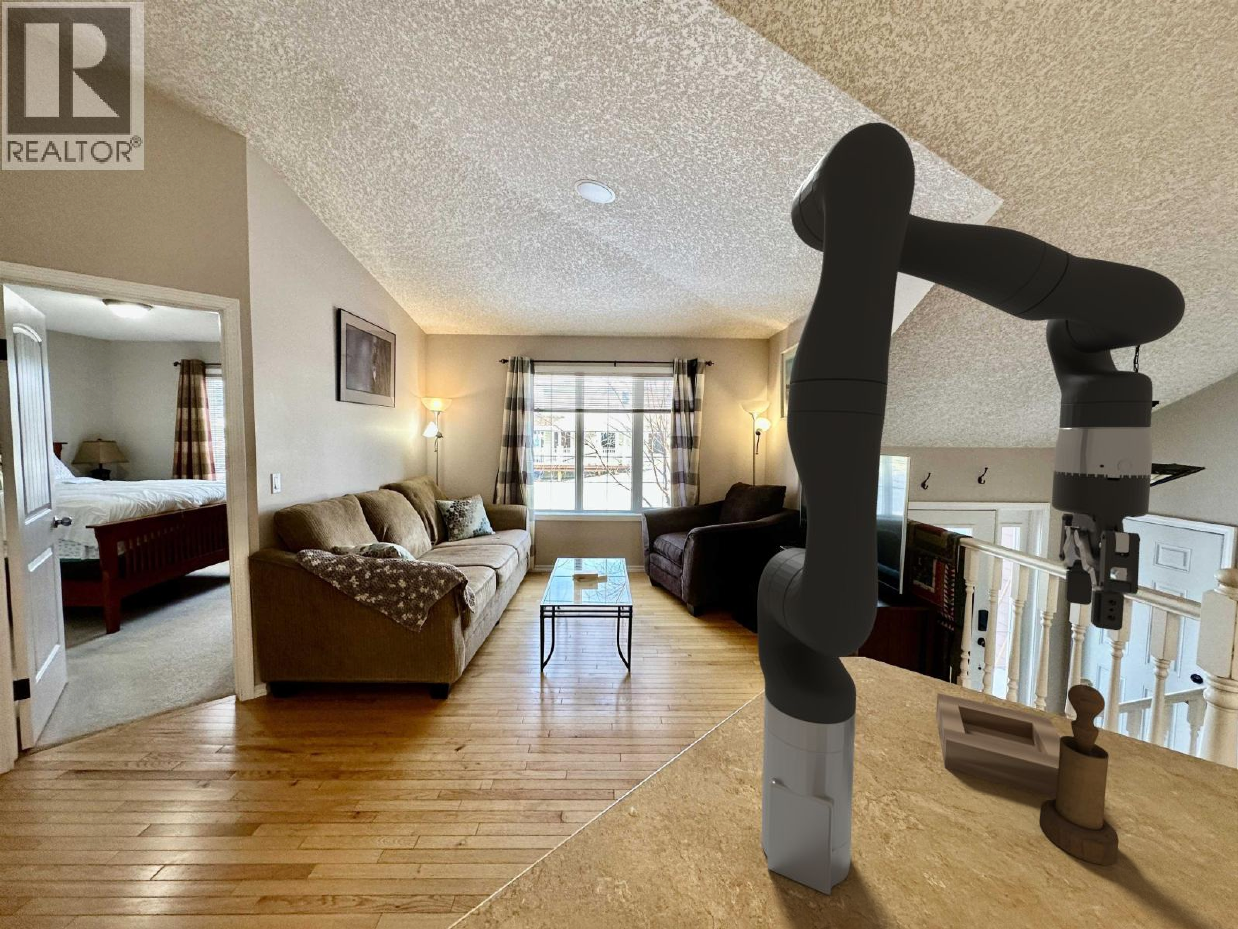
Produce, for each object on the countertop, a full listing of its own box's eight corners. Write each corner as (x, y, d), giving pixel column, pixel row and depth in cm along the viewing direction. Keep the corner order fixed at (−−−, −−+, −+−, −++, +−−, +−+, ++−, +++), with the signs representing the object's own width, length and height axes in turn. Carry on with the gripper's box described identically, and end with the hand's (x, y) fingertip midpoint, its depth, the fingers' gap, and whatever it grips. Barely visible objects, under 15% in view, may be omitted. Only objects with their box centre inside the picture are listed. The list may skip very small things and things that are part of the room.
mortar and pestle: (1135, 871, 51) (1147, 707, 50) (1064, 859, 52) (1074, 699, 51) (1088, 822, 58) (1097, 676, 57) (1026, 813, 59) (1034, 670, 58)
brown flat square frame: (1079, 809, 60) (1081, 774, 60) (944, 770, 67) (946, 739, 67) (1047, 746, 72) (1048, 717, 72) (936, 719, 79) (937, 692, 79)
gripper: (1037, 465, 61) (1030, 591, 62) (1076, 472, 48) (1066, 630, 49) (1120, 467, 57) (1111, 601, 58) (1184, 475, 45) (1171, 646, 46)
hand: (1090, 614), depth 54 cm, fingers open, 8 cm apart
